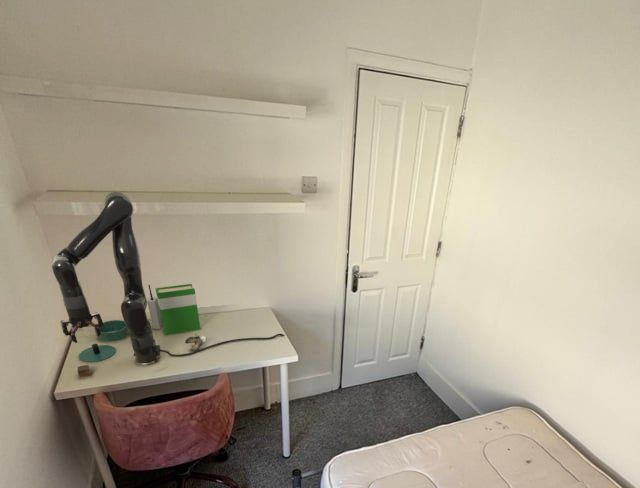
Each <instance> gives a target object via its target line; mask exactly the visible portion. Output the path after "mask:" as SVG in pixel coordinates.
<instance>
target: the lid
mask: <svg viewBox="0 0 640 488" xmlns="http://www.w3.org/2000/svg"><path fill="white" fill-rule="evenodd" d="M114 355H116V348H115V347H114V346H112V345H108V344H98V343H92V344H91V346H90V347H87V348H86V349H83V350H82V351H81V352H80V353H79V354H78V359H79V360H80V361H81V362H84V363H99V362H103V361H105V360H106V361H107V360H108V359H109V358H112V357H113V356H114Z"/></svg>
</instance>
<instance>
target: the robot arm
mask: <svg viewBox="0 0 640 488" xmlns="http://www.w3.org/2000/svg"><path fill="white" fill-rule="evenodd" d="M133 205H134V204H133V202H132V201H131V200H130V197H128V196H127V195H126V194H124V193H122V192H120V191H111V192H110V193H108V194H107V195H106V196H105V198H104V207H103V208H102V210H101V212H100V213H99V215H98V216H97V217H96V218H95V220H93V221H92V222H91V223H89V224H88V225H87V226H85V228H83V229H82V230H81V231H80V232H78V233H77V234H76V235H75V236H74V237H73V238H72V240H70V242H69V243H68V245H67V246H65V247H64V248H62V250H60V251H59V252H58V253H57V254H56V255H55V256H54V257H53V258H52V263H51V270H52V273H53V275H54V278H55V279H56V281H57V284H58V286H59V290H60V292H61V296H62V301H63V305H64V307H65V310H66V313H67V316H68V319H67V320H60V326H61V329H62V333H63V335H64V336H65V337H68V336H69V337H70V339H71V341H72V343H75V344H78V340H77V337H76V336H77V335H76V332H78V330H79V329H83V328H87V327H89V326H91V327H93V328H94V332H95V335H96V336H97V338H98V337H99V336H100V335H101V332H100V329H99V328H100V327H101V326H104V324H103V322H104V321H103V319H102V317H101V314H100V313H99V312H97V311H95V312H94V313H91V311H90V307H89V304H88V301H87V298H86V295H85V294H84V289H83V287H82V283H81V282H80V281H79V279H78V275H77V272H76V266H77V265H78V264H79V263H80V262H81V261H82V260H85V259H86V258H87V257H88V256H89V255H91V253H93V251H94V250H95V249H96V248H98V246H99V245H100V244H101V242H103V241H104V239H105V238H106V237H107V236H108V235H109V234H110V233H111V240H112V252H113V257H114V258H113V259H114V264H115V268H116V271H117V273H118V274H119V277H120V278H121V280H122V283H123V292H124V293H123V295H124V296H123V299H122V302H121V304H120V313H121V315H122V319H123V321H124V322H125V325H126V327H127V328H128V331H129V335H128V336H129V339H130V343H131V346H132V351H133V357H134V358H135V362H136V364H138V365H139V366H140V365H142V366H150V365H154V364H155V363H159V357H161V353H165V354H167V355H168V356H171V357H185V356H186V357H187V356H191V355H195V354H196V353H199V352H202V351H205V350H207V349H210V348H214V347H216V346H219V345H223V344H227V343H233V342H238V341H250V340H251V341H252V340H271V339H274V338H276V337H278V336H281V337H285V335H284V334H282V333H277V334H275V335H272V336H269V337H245V338H244V337H243V338H235V339H230V340H225V341H224V340H223V341H221V342H218V343H214V344H211V345H208V346H205V347H203V348H199V350H197V351H194V352H192V351H190V352H187V353H182V354H173V353H171V352H170V351H168V350H165V349H161V345H160V344H157V343H156V340H155V338H154V334H153V328H152V324H151V322H150V321H149V320H148V317H147V313H146V310H147V307H148V303H147V301H148V300H147V296H146V293H145V288H144V286H143V285H144V284H143V274H142V264H141V255H140V251H139V246H138V243H137V239H136V236H135V233H134V229H133V221H132V220H133V219H132V216H133V213H134V206H133ZM93 318H94V319H95V320H96V321H97V323H95V322H94V321H93ZM69 324H70V325H71V326H70V329H68V327H69Z"/></svg>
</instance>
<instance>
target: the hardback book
mask: <svg viewBox="0 0 640 488" xmlns="http://www.w3.org/2000/svg"><path fill="white" fill-rule="evenodd" d="M154 289H155V294H156V297H157V300H158V304H159V309H160V314H161V319H162V324H163V326H162V329H163V331H164V334H165V336H170V335H175V334H181V333H187V332H193V331H199V330H201V323H200V317H199V309H198V303H197V296H196V289H195V287H193V284H192V283H186V284H177V285H171V286H162V287H154Z"/></svg>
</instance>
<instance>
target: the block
mask: <svg viewBox="0 0 640 488" xmlns="http://www.w3.org/2000/svg"><path fill="white" fill-rule="evenodd" d="M91 373H92V372H91V368H90V365H89V364H85V365H79V366H77V374H78V377H79V378H80V379H81V378H87V377H91V376H92V374H91Z"/></svg>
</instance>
